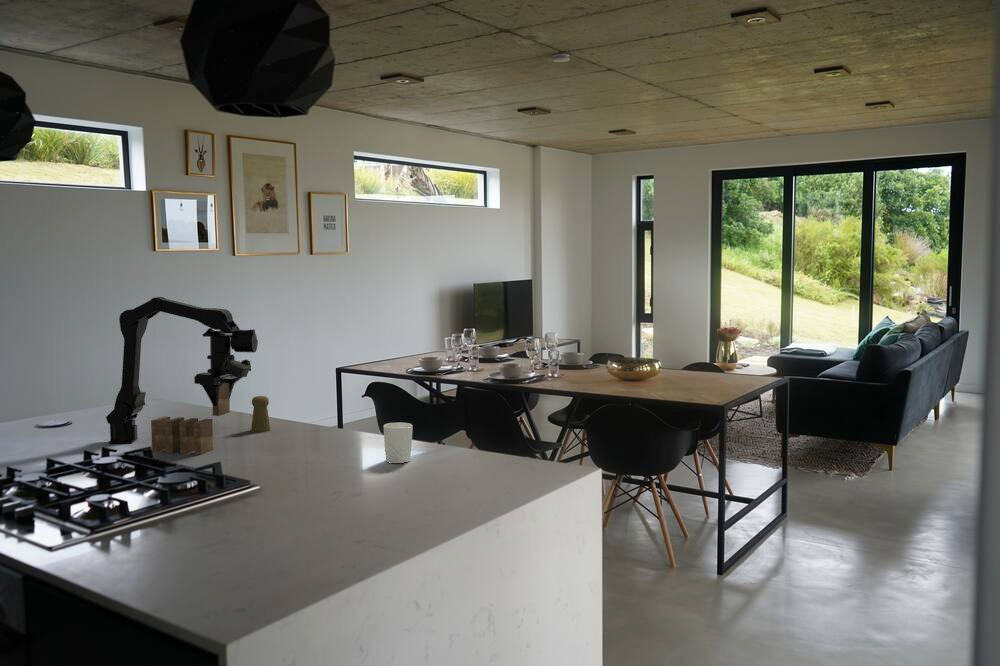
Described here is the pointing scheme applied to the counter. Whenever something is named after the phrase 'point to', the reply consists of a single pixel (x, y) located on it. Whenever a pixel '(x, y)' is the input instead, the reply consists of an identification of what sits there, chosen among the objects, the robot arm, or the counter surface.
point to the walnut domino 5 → (223, 400)
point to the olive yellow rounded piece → (260, 414)
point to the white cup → (398, 442)
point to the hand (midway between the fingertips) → (221, 403)
